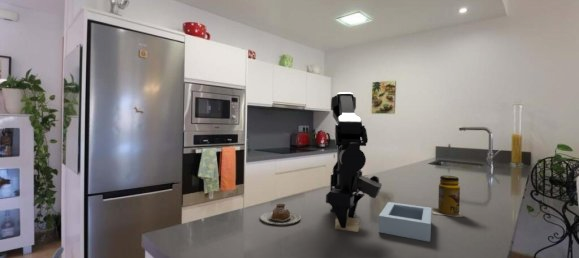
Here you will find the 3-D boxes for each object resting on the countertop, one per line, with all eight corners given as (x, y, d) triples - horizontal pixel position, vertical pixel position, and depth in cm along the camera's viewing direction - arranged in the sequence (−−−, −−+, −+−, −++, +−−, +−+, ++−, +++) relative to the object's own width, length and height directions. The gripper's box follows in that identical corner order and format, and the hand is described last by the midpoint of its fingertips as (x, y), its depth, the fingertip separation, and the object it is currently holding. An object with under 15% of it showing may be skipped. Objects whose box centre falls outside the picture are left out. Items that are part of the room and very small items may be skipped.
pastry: (308, 219, 82) (308, 204, 82) (284, 231, 72) (284, 213, 72) (277, 212, 89) (277, 197, 89) (251, 221, 79) (251, 205, 80)
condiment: (463, 217, 86) (464, 179, 86) (433, 214, 89) (434, 177, 89) (456, 211, 93) (457, 175, 93) (429, 208, 96) (429, 173, 96)
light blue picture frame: (378, 232, 72) (378, 215, 72) (388, 215, 86) (388, 201, 86) (430, 241, 66) (430, 223, 66) (431, 222, 80) (431, 207, 80)
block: (335, 229, 74) (335, 220, 74) (337, 224, 78) (337, 216, 78) (358, 232, 72) (358, 223, 72) (359, 227, 76) (359, 218, 76)
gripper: (371, 173, 63) (370, 242, 63) (385, 165, 79) (384, 219, 79) (325, 169, 68) (324, 232, 68) (347, 162, 84) (346, 213, 84)
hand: (347, 223), depth 75 cm, fingers open, 7 cm apart
